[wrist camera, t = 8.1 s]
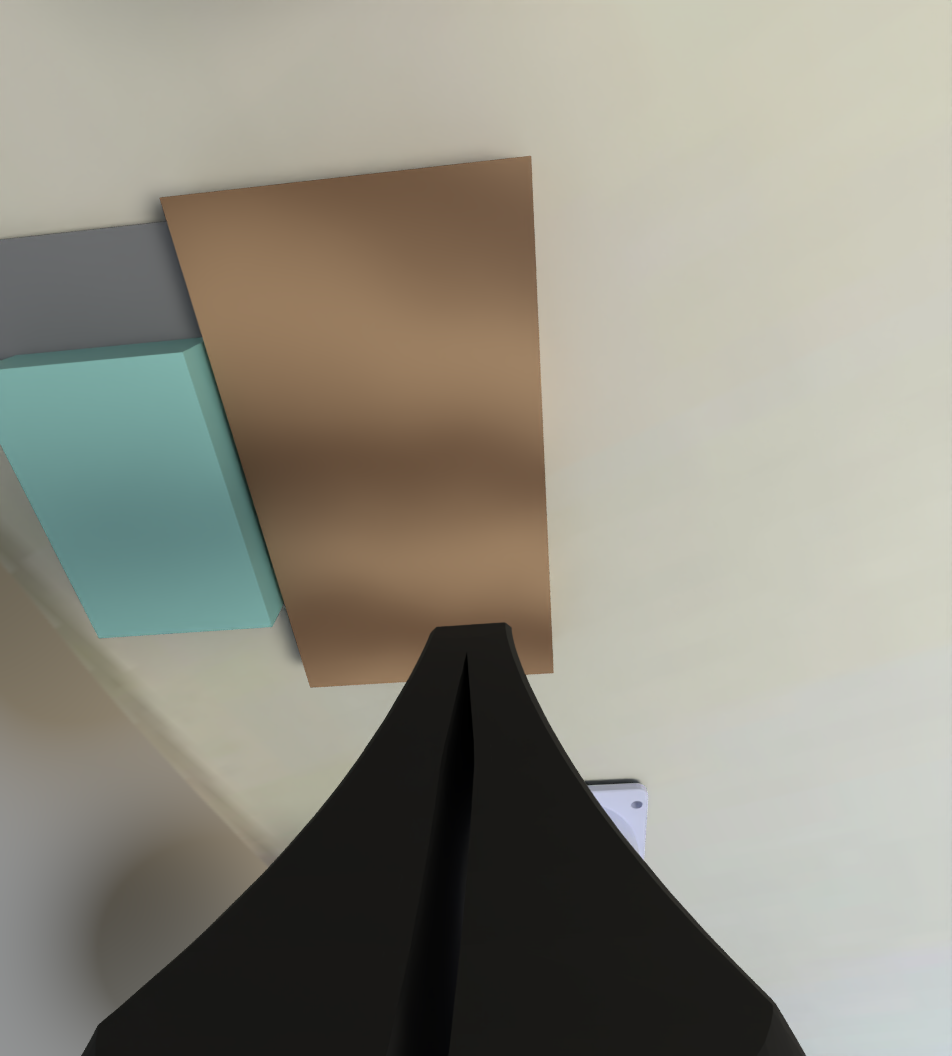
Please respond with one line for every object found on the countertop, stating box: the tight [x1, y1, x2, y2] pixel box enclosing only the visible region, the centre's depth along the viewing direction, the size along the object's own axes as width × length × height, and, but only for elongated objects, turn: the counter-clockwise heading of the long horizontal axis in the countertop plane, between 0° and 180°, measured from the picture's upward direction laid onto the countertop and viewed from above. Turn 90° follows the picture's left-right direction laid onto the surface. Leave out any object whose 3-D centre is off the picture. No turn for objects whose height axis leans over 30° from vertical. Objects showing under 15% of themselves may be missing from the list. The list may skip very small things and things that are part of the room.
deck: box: [160, 156, 553, 688], centre depth 19 cm, size 16×9×2 cm, turn 5°
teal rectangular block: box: [0, 337, 284, 638], centre depth 19 cm, size 9×6×2 cm, turn 5°
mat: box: [0, 221, 202, 360], centre depth 19 cm, size 11×7×1 cm, turn 5°
